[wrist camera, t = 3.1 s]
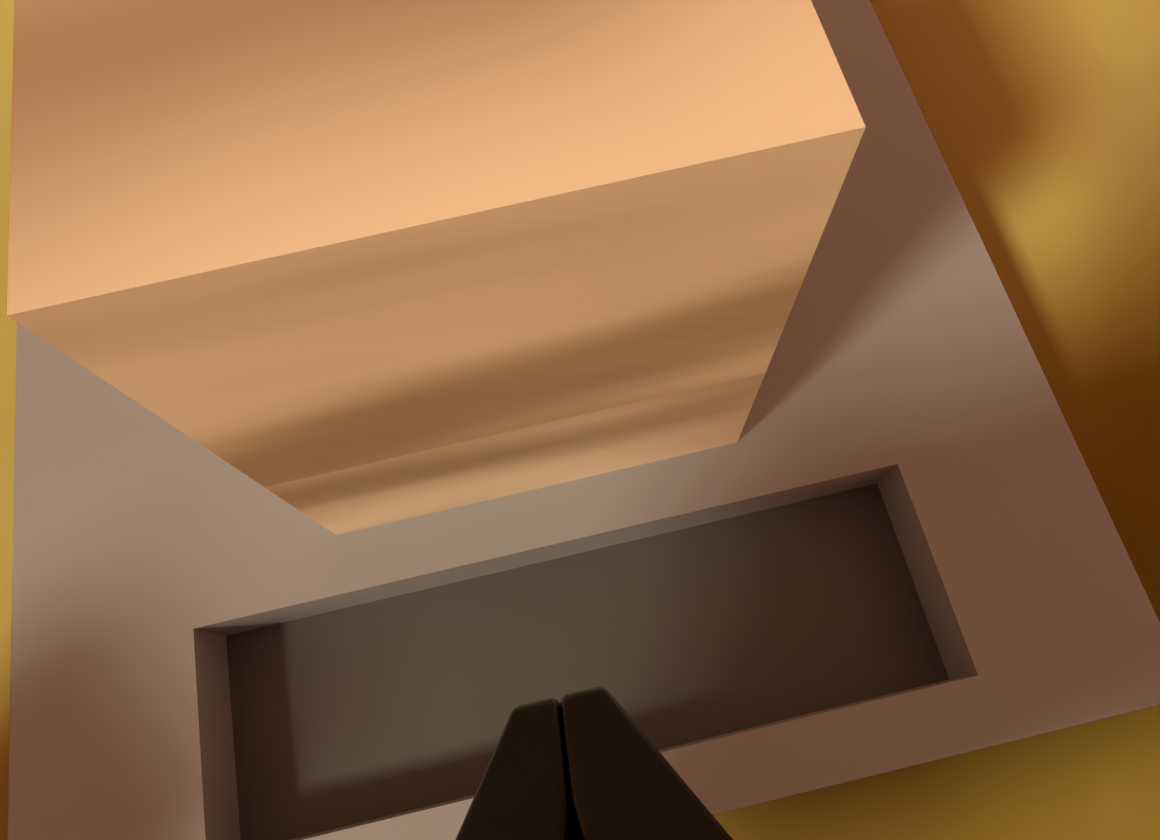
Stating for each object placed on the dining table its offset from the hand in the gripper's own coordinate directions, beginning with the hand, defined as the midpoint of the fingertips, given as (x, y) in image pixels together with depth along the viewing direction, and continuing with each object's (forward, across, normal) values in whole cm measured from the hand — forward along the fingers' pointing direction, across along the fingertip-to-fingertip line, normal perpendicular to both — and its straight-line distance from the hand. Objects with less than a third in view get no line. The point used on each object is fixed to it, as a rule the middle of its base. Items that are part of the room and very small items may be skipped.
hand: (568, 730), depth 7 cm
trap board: (+10, 0, 0) cm, 10 cm away
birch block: (+10, 0, -2) cm, 11 cm away
